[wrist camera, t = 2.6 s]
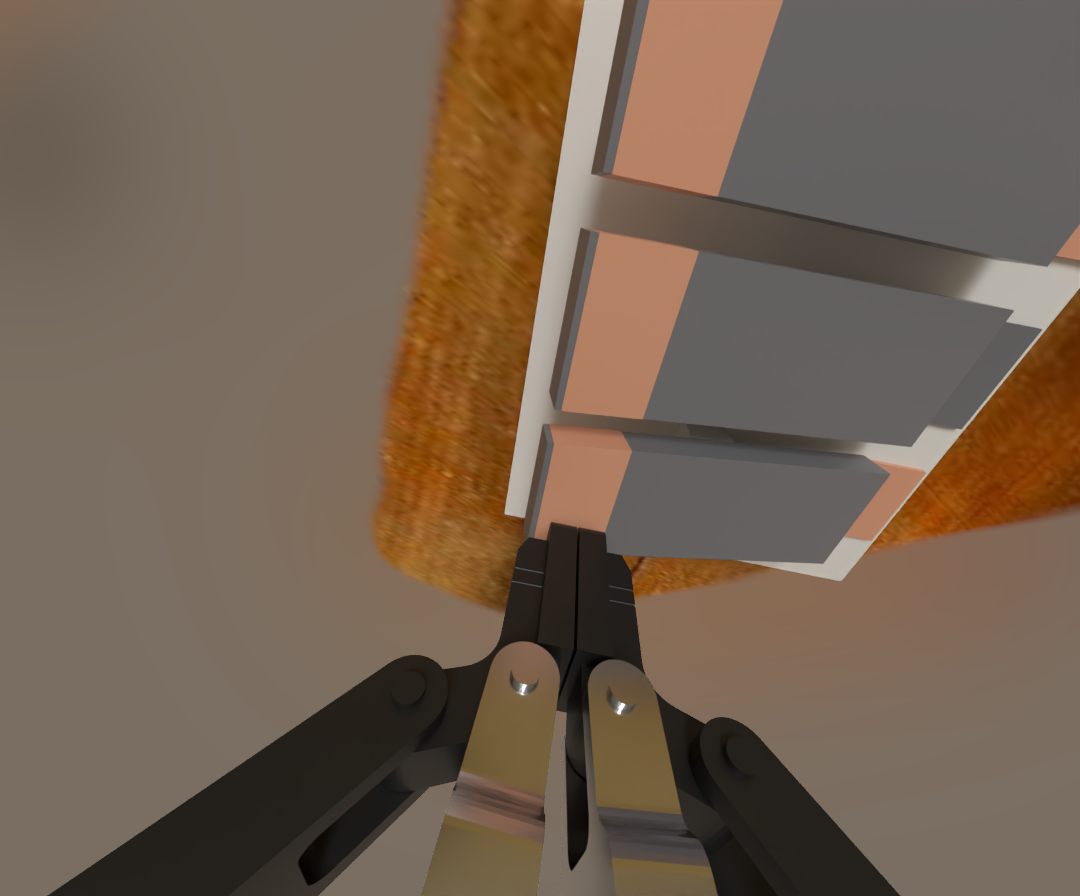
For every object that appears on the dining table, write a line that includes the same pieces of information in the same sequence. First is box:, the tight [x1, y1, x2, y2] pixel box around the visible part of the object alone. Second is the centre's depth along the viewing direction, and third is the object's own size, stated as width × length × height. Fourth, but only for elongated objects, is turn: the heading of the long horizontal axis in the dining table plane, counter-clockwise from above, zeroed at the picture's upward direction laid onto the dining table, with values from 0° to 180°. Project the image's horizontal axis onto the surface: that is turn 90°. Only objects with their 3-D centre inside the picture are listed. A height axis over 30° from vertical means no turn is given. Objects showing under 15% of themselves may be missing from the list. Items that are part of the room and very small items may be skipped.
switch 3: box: [523, 424, 891, 564], centre depth 14 cm, size 12×4×1 cm, turn 80°
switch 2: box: [549, 228, 1014, 447], centre depth 12 cm, size 12×4×1 cm, turn 80°
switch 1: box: [591, 0, 1080, 267], centre depth 9 cm, size 12×4×1 cm, turn 80°
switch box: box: [505, 0, 1080, 581], centre depth 15 cm, size 16×20×5 cm
